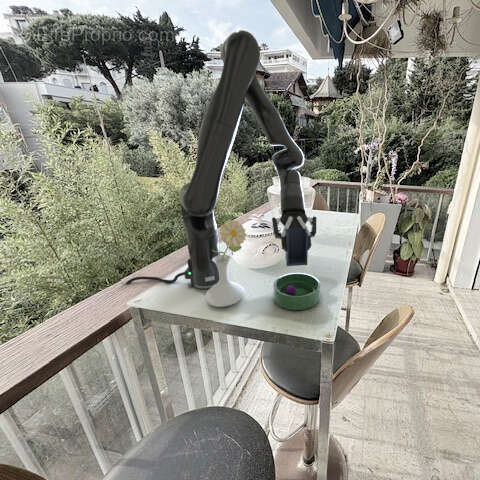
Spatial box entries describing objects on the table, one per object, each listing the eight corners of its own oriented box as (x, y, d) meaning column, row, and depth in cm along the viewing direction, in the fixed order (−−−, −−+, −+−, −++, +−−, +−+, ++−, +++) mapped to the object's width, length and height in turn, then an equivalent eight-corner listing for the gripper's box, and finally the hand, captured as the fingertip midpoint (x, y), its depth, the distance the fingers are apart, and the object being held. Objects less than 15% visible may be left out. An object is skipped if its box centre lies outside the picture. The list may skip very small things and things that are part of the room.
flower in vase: (209, 315, 74) (198, 230, 65) (202, 295, 83) (191, 218, 73) (255, 302, 80) (250, 223, 71) (243, 284, 89) (238, 212, 80)
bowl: (272, 312, 76) (271, 297, 74) (275, 286, 89) (275, 272, 87) (321, 311, 77) (322, 296, 75) (317, 285, 90) (318, 272, 89)
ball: (287, 292, 80) (282, 287, 82) (291, 299, 82) (285, 295, 84) (296, 286, 81) (290, 282, 84) (299, 293, 83) (293, 289, 85)
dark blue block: (285, 257, 83) (285, 227, 79) (304, 256, 84) (305, 226, 81) (287, 266, 78) (287, 234, 74) (307, 265, 79) (308, 233, 75)
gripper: (269, 194, 79) (272, 246, 73) (316, 194, 82) (323, 243, 76) (269, 207, 86) (272, 255, 80) (312, 206, 89) (318, 253, 83)
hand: (297, 249), depth 78 cm, fingers closed on dark blue block, 6 cm apart
